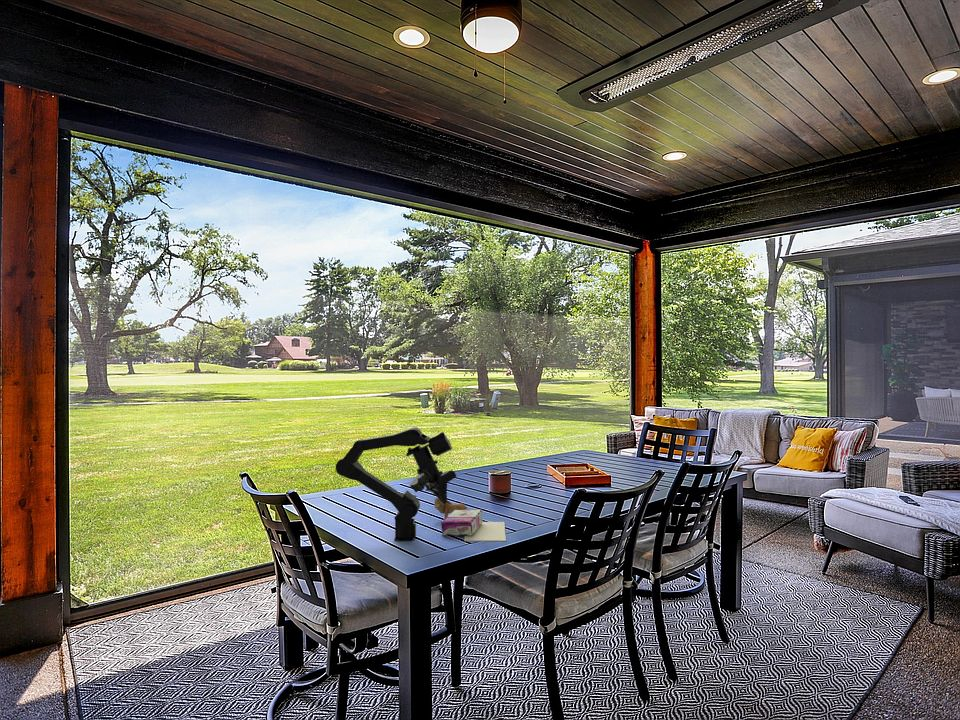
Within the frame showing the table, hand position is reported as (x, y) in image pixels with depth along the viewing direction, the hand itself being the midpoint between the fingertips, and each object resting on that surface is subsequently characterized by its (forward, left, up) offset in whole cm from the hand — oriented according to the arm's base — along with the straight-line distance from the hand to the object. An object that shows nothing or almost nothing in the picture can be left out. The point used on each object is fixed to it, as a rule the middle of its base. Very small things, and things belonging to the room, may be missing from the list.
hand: (445, 503), depth 195 cm
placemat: (+14, +8, -12) cm, 20 cm away
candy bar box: (+4, +2, -9) cm, 10 cm away
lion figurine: (+1, +21, -12) cm, 24 cm away
